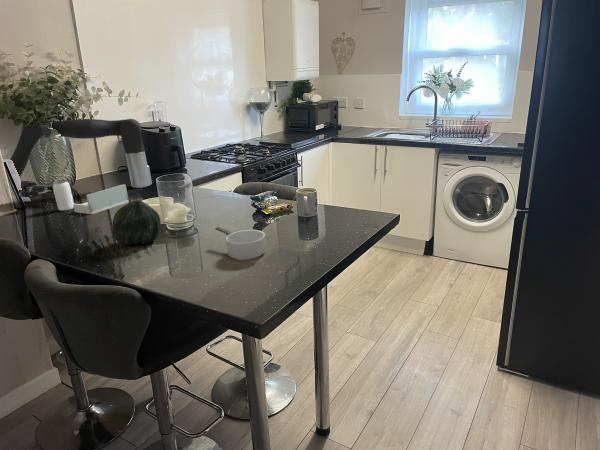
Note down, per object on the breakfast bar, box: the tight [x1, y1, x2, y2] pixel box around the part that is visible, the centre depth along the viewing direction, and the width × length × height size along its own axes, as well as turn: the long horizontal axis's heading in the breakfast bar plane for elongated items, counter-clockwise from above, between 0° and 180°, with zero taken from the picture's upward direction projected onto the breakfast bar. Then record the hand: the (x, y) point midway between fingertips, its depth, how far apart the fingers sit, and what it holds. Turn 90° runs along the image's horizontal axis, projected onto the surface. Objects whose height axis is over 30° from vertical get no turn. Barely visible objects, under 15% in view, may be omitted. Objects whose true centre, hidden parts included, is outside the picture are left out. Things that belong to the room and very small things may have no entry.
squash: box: [111, 199, 162, 245], centre depth 146 cm, size 14×15×15 cm
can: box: [52, 179, 75, 212], centre depth 195 cm, size 6×6×12 cm
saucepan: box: [214, 226, 266, 261], centre depth 134 cm, size 12×20×6 cm, turn 44°
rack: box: [73, 183, 130, 215], centre depth 195 cm, size 19×11×8 cm, turn 151°
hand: (47, 191), depth 200 cm, fingers open, 8 cm apart
